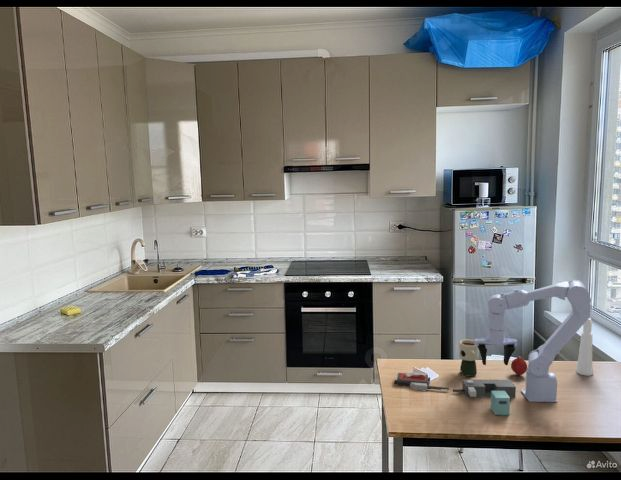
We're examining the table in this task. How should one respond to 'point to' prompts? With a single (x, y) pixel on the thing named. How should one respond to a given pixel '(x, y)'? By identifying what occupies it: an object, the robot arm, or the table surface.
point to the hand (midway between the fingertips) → (494, 364)
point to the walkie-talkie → (416, 381)
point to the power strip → (487, 387)
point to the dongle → (472, 391)
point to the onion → (519, 366)
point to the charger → (500, 402)
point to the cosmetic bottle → (585, 351)
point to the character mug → (468, 357)
